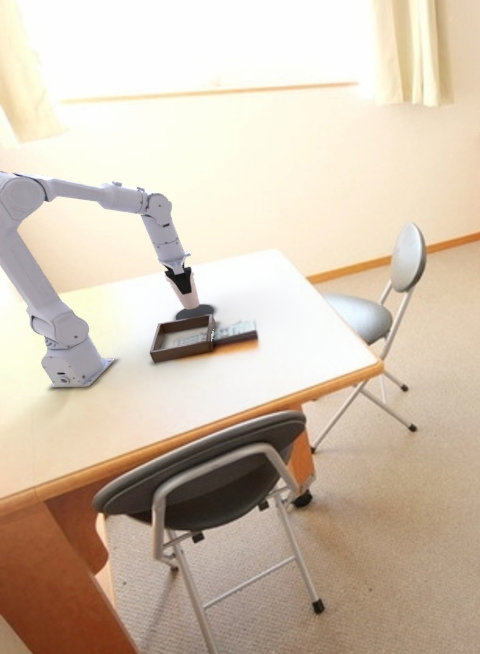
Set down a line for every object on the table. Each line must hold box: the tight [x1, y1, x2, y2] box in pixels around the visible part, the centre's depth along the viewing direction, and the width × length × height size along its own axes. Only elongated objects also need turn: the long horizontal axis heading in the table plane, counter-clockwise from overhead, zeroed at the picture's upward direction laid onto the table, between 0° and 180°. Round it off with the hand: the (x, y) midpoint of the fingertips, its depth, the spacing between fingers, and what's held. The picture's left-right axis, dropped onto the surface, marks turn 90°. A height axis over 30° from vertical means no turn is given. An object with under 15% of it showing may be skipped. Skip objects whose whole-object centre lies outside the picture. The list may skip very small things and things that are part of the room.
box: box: [149, 313, 217, 364], centre depth 120 cm, size 13×12×3 cm
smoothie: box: [164, 269, 201, 309], centre depth 126 cm, size 6×6×14 cm
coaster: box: [175, 303, 214, 320], centre depth 131 cm, size 9×9×1 cm
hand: (184, 288), depth 127 cm, fingers closed on smoothie, 6 cm apart
